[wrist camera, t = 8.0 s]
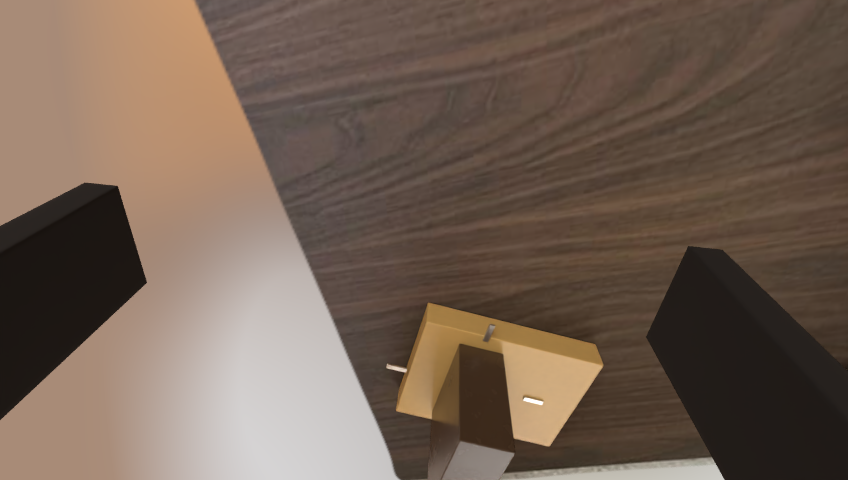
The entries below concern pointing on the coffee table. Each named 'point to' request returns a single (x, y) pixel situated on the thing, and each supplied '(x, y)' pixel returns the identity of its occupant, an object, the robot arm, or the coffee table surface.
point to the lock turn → (472, 419)
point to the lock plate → (524, 365)
